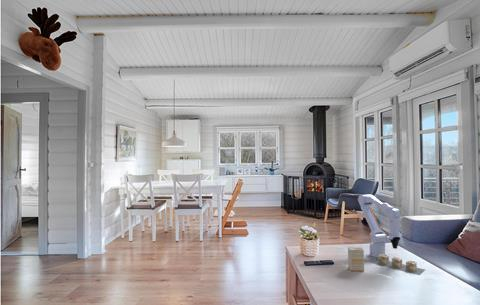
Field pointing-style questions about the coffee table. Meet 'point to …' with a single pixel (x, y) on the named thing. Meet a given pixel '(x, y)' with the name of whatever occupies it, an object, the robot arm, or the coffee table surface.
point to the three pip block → (411, 265)
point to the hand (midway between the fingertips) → (395, 248)
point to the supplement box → (356, 259)
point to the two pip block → (383, 259)
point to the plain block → (397, 262)
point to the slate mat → (403, 268)
